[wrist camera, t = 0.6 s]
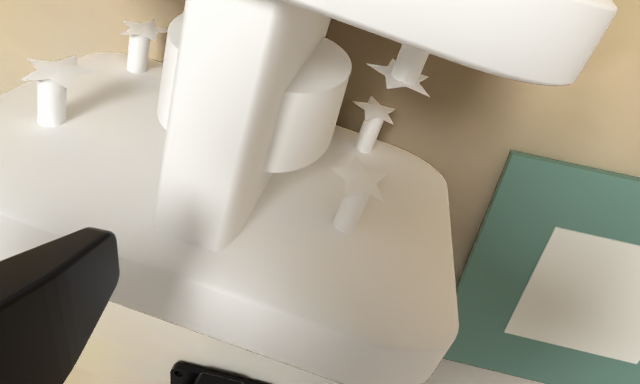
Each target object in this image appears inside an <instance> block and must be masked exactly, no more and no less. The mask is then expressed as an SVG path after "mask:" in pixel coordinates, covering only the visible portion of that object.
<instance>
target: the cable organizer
mask: <svg viewBox="0 0 640 384" xmlns="http://www.w3.org/2000/svg"><path fill="white" fill-rule="evenodd" d="M616 13H617V7H616V5H615V4H614V2H612V1H611V0H186V2H185V8H184V12H183V13H181V14H180V15H178V16H177V17H176V18H174V19H173V20H172V22H171V23H170V25H169V27H168V29H164V28H160V27H157V25H156V23H155V21H154V19H153V20H149V21H146V22H143V23H136V22H129V21H122V20H121V21H122V22H124V23H125V24H126V25H127V26H128V27H130V28H129V29H128V30H126V31H125V32H123V33H121V34H120V35H129V46H128V54H124V53H114V52H100V53H92V54H88V55H85V56H83V57H80V58H78V59H77V57H76V55H73V56H70V57H67V58H64V59H61V60H58V61H55V62H54V61H44V60H34V59H28V60H29V61H30V63H31V64H32V65H33V66H34V67H35V68H36V69H37V70H36V71H34V72H32V73H31V74H29V75H27V76H25V77H24V78H22V79H20V80H19V81H26V80H31V81H29V82H27V83H25V84H23V85H21V86H19V87H17V88H14V89H12V90H10V91H8V92H6V93H4V94H2V95H0V261H1V260H4V259H7V258H9V257H12V256H14V255H17V254H19V253H22V252H24V251H27V250H30V249H32V248H35V247H37V246H40V245H42V244H45V243H47V242H50V241H53V240H55V239H58V238H60V237H63V236H65V235H68V234H71V233H73V232H76V231H78V230H81V229H83V228H86V227H94V228H99V229H103V230H108V231H111V232H113V233H114V234H115V236H116V239H117V248H118V258H119V269H120V275H119V280H118V283H117V286H116V288H115V290H114V292H113V294H112V296H111V298H110V299H109V301H111V302H114V303H117V304H119V305H122V306H125V307H128V308H131V309H133V310H136V311H139V312H142V313H145V314H148V315H150V316H153V317H156V318H159V319H162V320H164V321H167V322H170V323H173V324H176V325H178V326H181V327H184V328H187V329H190V330H192V331H195V332H198V333H201V334H204V335H206V336H209V337H212V338H215V339H218V340H220V341H223V342H226V343H229V344H232V345H235V346H237V347H240V348H243V349H246V350H249V351H251V352H254V353H257V354H260V355H263V356H265V357H268V358H271V359H274V360H277V361H279V362H282V363H285V364H288V365H291V366H293V367H296V368H299V369H302V370H305V371H308V372H310V373H313V374H316V375H319V376H322V377H324V378H327V379H330V380H333V381H336V382H338V383H341V384H422V383H424V382H425V381H427V379H428V378H429V377H430V376H431V375H432V373H433V372H434V370H435V369H436V367H437V366H438V364H439V363H440V361H441V360H442V358H443V357H444V355H445V354H446V352H447V351H448V349H449V348H450V346H451V345H452V343H453V342H454V340H455V339H456V336H457V334H458V329H459V320H458V308H457V295H456V283H455V271H454V258H453V246H452V234H451V222H450V209H449V197H448V186H447V182H446V181H445V179H444V177H443V176H442V175H441V174H440V173H439V172H438V171H437V170H436V169H435V168H434V167H432V166H431V165H430V164H428V163H427V162H425V161H424V160H422V159H421V158H419V157H417V156H415V155H413V154H411V153H409V152H407V151H405V150H403V149H401V148H398V147H396V146H393V145H391V144H388V143H385V142H382V141H379V140H377V136H378V134H379V131H380V129H381V126H382V124H383V121H387V122H389V123H391V124H393V122H392V120H391V119H390V117H389V115H388V114H389V113H391V112H392V111H394V110H396V109H394V108H390V107H386V106H383V105H380V104H379V103H378V102H377V101H376V100H375V99H374V98H373V97H372V96H371V97H370V98H369V100H368V102H367V103H366V102H356V101H352V102H354V103H355V104H357V105H358V106H359V107H361V108H362V109H364V110H365V119H364V122H363V124H362V127H361V129H360V132H359V133H357V132H354V131H351V130H349V129H346V128H343V127H340V126H337V125H336V122H337V118H338V115H339V111H340V108H341V104H342V101H343V97H344V94H345V90H346V87H347V83H348V80H349V76H350V73H351V69H352V64H351V60H350V58H349V56H348V54H347V53H346V52H345V51H344V50H343V49H342V48H341V47H340V46H339V45H337V44H336V43H334V42H333V41H331V40H329V39H327V38H325V37H326V34H327V30H328V27H329V24H330V21H331V18H332V19H335V20H338V21H340V22H343V23H346V24H349V25H352V26H354V27H357V28H360V29H363V30H366V31H368V32H371V33H374V34H377V35H379V36H382V37H385V38H388V39H391V40H393V41H396V42H399V43H402V46H401V49H400V51H399V54H398V56H397V59H396V61H395V60H394V59H393V58H392V60H391V62H390V63H389V65H388V66H381V65H373V64H367V65H369V66H370V67H372V68H373V69H375V70H377V71H378V72H380V73H382V74H383V75H385V77H386V87H387V89H391V88H399V87H408V88H410V89H412V90H415V91H417V92H419V93H421V94H424V95H426V96H428V97H430V96H429V95H428V94H427V92H426V91H425V90H424V88H423V87H422V86H421V85H420V83H419V82H421V81H423V80H425V79H427V78H429V77H428V76H425V75H421V72H422V69H423V67H424V65H425V62H426V60H427V58H428V55H429V53H430V54H432V55H435V56H438V57H441V58H444V59H446V60H449V61H452V62H455V63H458V64H460V65H463V66H466V67H469V68H472V69H475V70H478V71H482V72H485V73H488V74H492V75H496V76H499V77H503V78H507V79H511V80H516V81H520V82H525V83H530V84H537V85H546V86H564V85H570V84H571V83H573V82H575V81H576V79H577V78H578V76H579V74H580V73H581V71H582V69H583V68H584V66H585V64H586V63H587V61H588V59H589V58H590V56H591V54H592V53H593V51H594V49H595V48H596V46H597V44H598V43H599V41H600V40H601V38H602V36H603V35H604V33H605V31H606V30H607V28H608V26H609V25H610V23H611V21H612V20H613V18H614V16H615V15H616ZM165 32H167V39H166V46H165V54H164V61H163V63H161V62H159V61H155V60H152V59H148V54H149V45H150V39H151V40H153V41H156V37H157V34H158V33H165ZM365 64H366V63H365ZM393 125H394V124H393Z"/></svg>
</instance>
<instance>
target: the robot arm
mask: <svg viewBox="0 0 640 384" xmlns="http://www.w3.org/2000/svg"><path fill="white" fill-rule="evenodd" d="M119 275H120V269H119V258H118V248H117V239H116V236H115V234H114V233H113V232H111V231H108V230H103V229H99V228H94V227H86V228H83V229H81V230H78V231H76V232H73V233H71V234H68V235H65V236H63V237H60V238H58V239H55V240H53V241H50V242H47V243H45V244H42V245H40V246H37V247H35V248H32V249H30V250H27V251H24V252H22V253H19V254H17V255H14V256H12V257H9V258H7V259H4V260H1V261H0V384H63V383H64V381H65V380H66V378H67V377H68V375H69V374H70V372H71V370H72V369H73V367H74V365H75V364H76V362H77V360H78V358H79V356H80V355H81V353H82V351H83V349H84V347H85V345H86V343H87V341H88V339H89V338H90V336H91V334H92V332H93V330H94V328H95V326H96V324H97V322H98V320H99V319H100V317H101V315H102V313H103V311H104V309H105V307H106V305H107V303H108V301H109V299H110V298H111V296H112V294H113V292H114V290H115V288H116V286H117V283H118V280H119ZM170 373H171V384H260V383H256V382H252V381H249V380H245V379H241V378H237V377H233V376H229V375H225V374H221V373H217V372H213V371H209V370H205V369H202V368H198V367H194V366H190V365H186V364H182V363H176V364H174V366H173V367H172V369H171V372H170Z"/></svg>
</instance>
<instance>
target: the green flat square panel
mask: <svg viewBox="0 0 640 384" xmlns="http://www.w3.org/2000/svg"><path fill="white" fill-rule="evenodd" d="M456 295H457V308H458V320H459V329H458V334H457V336H456V339H455V340H454V342H453V343H452V345H451V346H450V348H449V349H448V351H447V352H446V354H445V355H444V357H443V359H447V360H452V361H456V362H460V363H464V364H468V365H472V366H476V367H480V368H484V369H488V370H492V371H496V372H500V373H504V374H509V375H513V376H517V377H521V378H525V379H529V380H533V381H537V382H541V383H545V384H640V178H638V177H633V176H629V175H624V174H619V173H615V172H610V171H605V170H601V169H596V168H591V167H587V166H582V165H577V164H573V163H568V162H563V161H559V160H554V159H549V158H545V157H540V156H535V155H531V154H526V153H521V152H517V151H512V150H511V152H510V154H509V157H508V159H507V162H506V164H505V167H504V169H503V172H502V174H501V177H500V179H499V182H498V184H497V187H496V189H495V192H494V194H493V197H492V200H491V202H490V205H489V207H488V210H487V212H486V215H485V217H484V220H483V222H482V225H481V227H480V230H479V232H478V235H477V237H476V240H475V242H474V245H473V248H472V250H471V253H470V255H469V258H468V260H467V263H466V265H465V268H464V270H463V273H462V275H461V278H460V280H459V283H458V285H457V288H456Z"/></svg>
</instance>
